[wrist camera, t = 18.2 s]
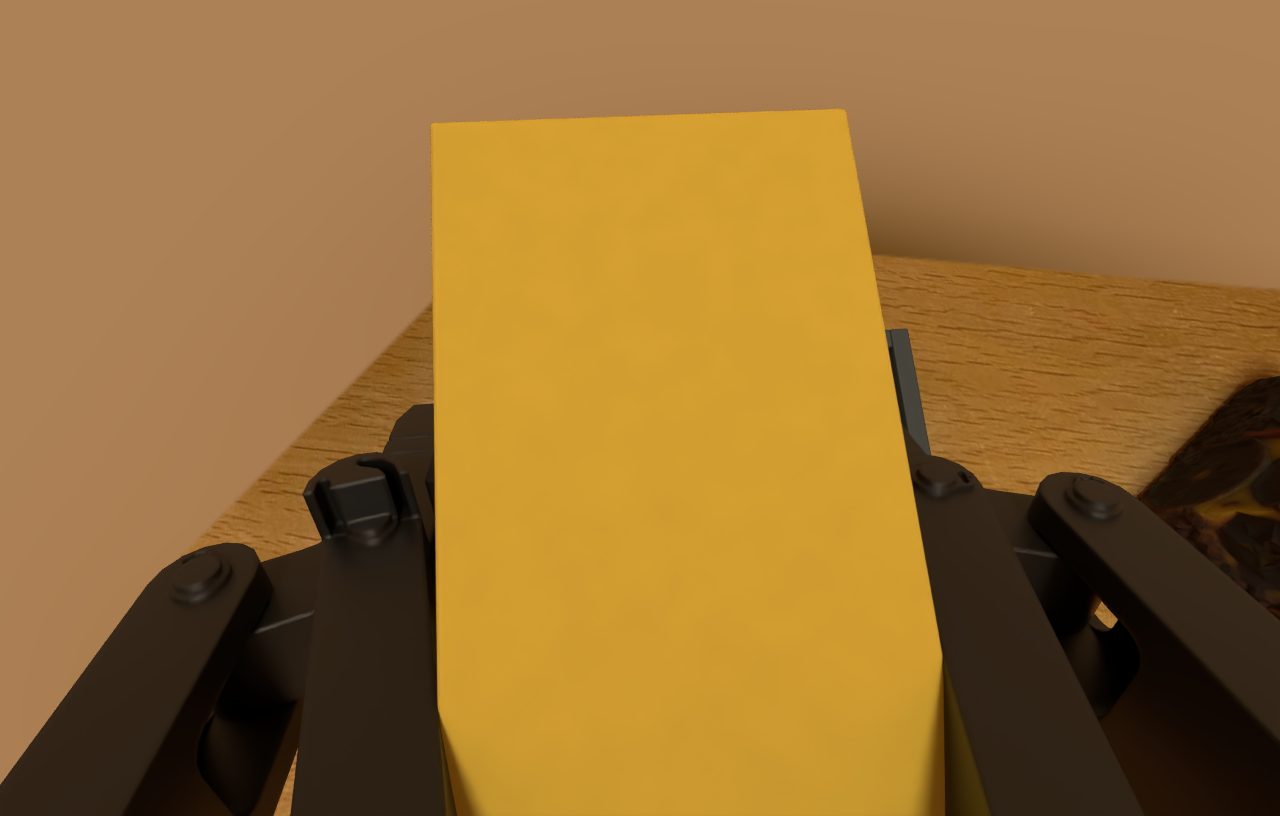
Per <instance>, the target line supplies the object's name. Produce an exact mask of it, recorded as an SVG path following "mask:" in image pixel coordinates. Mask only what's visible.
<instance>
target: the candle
mask: <svg viewBox="0 0 1280 816" xmlns="http://www.w3.org/2000/svg"><path fill="white" fill-rule="evenodd" d="M1139 501H1141V502H1142V503H1143V504H1144V505H1145V506H1146V507H1148V508H1149V509H1150V510H1151V511H1152V512H1153V513H1155V514H1156V515H1157V516H1158V517H1159V518H1160V519H1162V520H1163V521H1164V522H1165V523H1166V524H1168V525H1169V526H1170V527H1171V528H1172V529H1173V530H1175V531H1176V532H1177V533H1178V534H1179V535H1180V536H1182V537H1183V538H1184V539H1185V540H1186V541H1187V542H1189V543H1190V544H1191V545H1192V546H1193V547H1194V548H1196V549H1197V550H1198V551H1199V552H1200V553H1201V554H1203V555H1204V556H1205V557H1206V558H1207V559H1208V560H1210V561H1211V562H1212V563H1213V564H1214V565H1215V566H1217V567H1218V568H1219V569H1220V570H1221V571H1223V572H1224V573H1225V574H1226V575H1227V576H1228V577H1230V578H1231V579H1232V580H1233V581H1234V582H1235V583H1237V584H1238V585H1239V586H1240V587H1241V588H1242V589H1244V590H1245V591H1246V592H1247V593H1248V594H1249V595H1251V596H1252V597H1253V598H1254V599H1255V600H1256V601H1258V602H1259V603H1260V604H1261V605H1262V606H1263V607H1265V608H1266V609H1267V610H1268V611H1269V612H1270V613H1272V614H1273V615H1274V616H1275V617H1276V618H1278V619H1279V620H1280V376H1276V377H1271V378H1268V379H1259V380H1256V381H1255V382H1253V383H1251V384H1250V385H1248V386H1247V387H1245V388H1244V389H1243V390H1242V391H1240V392H1239V393H1238V394H1236V395H1235V397H1234V398H1233V400H1232V402H1231V403H1230V405H1227V406H1225V407H1222V408H1221V410H1220V411H1219V412H1218V413H1217V415H1216V416H1215V418H1214V421H1213V423H1210V424H1208V425H1207V426H1206V428H1205V429H1204V430H1203V431H1202V432H1200V433H1199V434H1198V436H1197V438H1196V440H1195V441H1193V442H1192V443H1190V444H1189V445H1188V446H1187V447H1186V449H1185V450H1184V452H1183V453H1182V454H1180V455H1178V456H1177V457H1176V459H1175V461H1174V463H1173V464H1172V466H1171V467H1170V468H1169V469H1168V470H1167V472H1166V473H1165V474H1164V475H1163V476H1162V477H1161V478H1160V479H1158V480H1157V481H1156V482H1155V483H1154V484H1153V485H1152V487H1151V488H1150V489H1149V490H1148V491H1147V492H1146V493H1145V495H1144V496H1143V497H1142V499H1141V500H1139Z"/></svg>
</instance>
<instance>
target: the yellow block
mask: <svg viewBox="0 0 1280 816" xmlns="http://www.w3.org/2000/svg"><path fill="white" fill-rule="evenodd" d="M430 131H431V214H432V215H431V216H432V285H433V286H432V300H433V383H434V467H435V551H436V634H437V708H438V715H439V721H440V727H441V732H442V738H443V743H444V748H445V754H446V759H447V764H448V770H449V775H450V780H451V786H452V791H453V796H454V802H455V807H456V812H457V816H945V765H944V682H943V655H942V650H941V644H940V638H939V633H938V627H937V622H936V616H935V610H934V605H933V599H932V593H931V588H930V582H929V576H928V571H927V565H926V560H925V554H924V548H923V543H922V537H921V531H920V526H919V520H918V514H917V509H916V503H915V497H914V492H913V486H912V481H911V475H910V469H909V464H908V458H907V452H906V447H905V441H904V435H903V430H902V424H901V418H900V413H899V407H898V402H897V396H896V390H895V385H894V379H893V373H892V368H891V362H890V356H889V351H888V345H887V340H886V334H885V328H884V323H883V317H882V311H881V306H880V300H879V294H878V289H877V283H876V277H875V272H874V266H873V261H872V255H871V250H870V244H869V238H868V233H867V227H866V222H865V215H864V210H863V204H862V199H861V193H860V187H859V182H858V176H857V170H856V165H855V159H854V154H853V148H852V142H851V137H850V131H849V126H848V120H847V114H846V111H845V110H844V109H821V110H794V111H768V112H767V111H766V112H765V111H764V112H736V113H709V114H708V113H706V114H679V115H651V116H623V117H594V118H563V119H537V120H535V119H534V120H506V121H479V122H449V123H433V124H432V125H431V129H430Z"/></svg>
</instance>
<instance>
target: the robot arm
mask: <svg viewBox="0 0 1280 816" xmlns="http://www.w3.org/2000/svg"><path fill="white" fill-rule="evenodd" d="M902 430H903V435H904V441H905V447H906V452H907V458H908V464H909V469H910V475H911V481H912V486H913V492H914V497H915V503H916V509H917V514H918V520H919V526H920V531H921V537H922V543H923V548H924V554H925V560H926V565H927V571H928V576H929V582H930V588H931V593H932V599H933V605H934V610H935V616H936V622H937V627H938V633H939V638H940V644H941V650H942V655H943V682H944V765H945V816H1280V620H1279V619H1278V618H1276V617H1275V616H1274V615H1273V614H1272V613H1270V612H1269V611H1268V610H1267V609H1266V608H1265V607H1263V606H1262V605H1261V604H1260V603H1259V602H1258V601H1256V600H1255V599H1254V598H1253V597H1252V596H1251V595H1249V594H1248V593H1247V592H1246V591H1245V590H1244V589H1242V588H1241V587H1240V586H1239V585H1238V584H1237V583H1235V582H1234V581H1233V580H1232V579H1231V578H1230V577H1228V576H1227V575H1226V574H1225V573H1224V572H1223V571H1221V570H1220V569H1219V568H1218V567H1217V566H1215V565H1214V564H1213V563H1212V562H1211V561H1210V560H1208V559H1207V558H1206V557H1205V556H1204V555H1203V554H1201V553H1200V552H1199V551H1198V550H1197V549H1196V548H1194V547H1193V546H1192V545H1191V544H1190V543H1189V542H1187V541H1186V540H1185V539H1184V538H1183V537H1182V536H1180V535H1179V534H1178V533H1177V532H1176V531H1175V530H1173V529H1172V528H1171V527H1170V526H1169V525H1168V524H1166V523H1165V522H1164V521H1163V520H1162V519H1160V518H1159V517H1158V516H1157V515H1156V514H1155V513H1153V512H1152V511H1151V510H1150V509H1149V508H1148V507H1146V506H1145V505H1144V504H1143V503H1142V502H1141V501H1139V500H1138V499H1137V498H1136V497H1134V496H1133V495H1131V494H1130V493H1128V492H1127V491H1125V490H1124V489H1122V488H1121V487H1119V486H1117V485H1115V484H1113V483H1110V482H1108V481H1106V480H1104V479H1102V478H1099V477H1095V476H1090V475H1087V474H1082V473H1071V472H1060V473H1055V474H1051V475H1048V476H1047V477H1046V478H1045V479H1044V480H1043V481H1041V483H1040V485H1039V487H1038V489H1037V492H1036V494H1035V496H1032V495H1025V494H1017V493H1010V492H1003V491H995V490H990V489H985V488H983V486H982V484H981V483H980V482H979V481H978V479H977V478H976V477H975V476H974V474H973V473H971V472H970V471H968V470H967V469H965V468H964V467H962V466H961V465H959V464H957V463H955V462H952V461H950V460H947V459H945V458H942V457H937V456H931V455H927V454H926V453H925V452H924V451H923V449H922V448H921V447H920V446H919V444H918V443H917V442H916V441H915V440H914V438H913V437H912V436H911V435H910V434H909V432H908V431H907V430H906V429H905V427H904V426H903V425H902ZM303 496H304V499H305V501H306V503H307V506H308V508H309V510H310V513H311V515H312V517H313V520H314V522H315V524H316V527H317V529H318V531H319V534H320V536H321V538H322V542H320V543H318V544H316V545H314V546H311V547H308V548H306V549H303V550H300V551H297V552H293V553H290V554H287V555H283V556H280V557H277V558H274V559H270V560H267V561H264V562H261V561H260V559H259V557H258V556H257V554H256V552H255V550H254V549H252V548H250V547H248V546H246V545H244V544H239V543H222V544H217V545H212V546H208V547H204V548H201V549H199V550H196V551H194V552H192V553H189V554H187V555H185V556H182V557H181V558H179V559H178V560H176V561H175V562H173V563H172V564H170V565H169V566H167V567H166V568H164V569H162V570H161V572H159V574H158V575H157V576H156V577H155V578H154V579H153V580H152V581H151V582H150V583H149V584H148V585H147V586H146V587H145V589H144V590H143V592H142V593H141V594H140V596H139V597H138V598H137V600H136V601H135V602H134V604H133V605H132V607H131V608H130V609H129V611H128V612H127V613H126V615H125V616H124V617H123V619H122V620H121V622H120V623H119V624H118V625H117V627H116V628H115V630H114V631H113V632H112V634H111V635H110V636H109V638H108V639H107V641H106V642H105V643H104V645H103V646H102V647H101V649H100V650H99V651H98V653H97V654H96V655H95V657H94V658H93V659H92V661H91V662H90V664H89V665H88V666H87V668H86V669H85V671H84V672H83V673H82V675H81V676H80V677H79V679H78V680H77V681H76V683H75V684H74V685H73V687H72V688H71V690H70V691H69V692H68V693H67V695H66V696H65V698H64V699H63V700H62V702H61V703H60V704H59V706H58V707H57V708H56V710H55V711H54V712H53V714H52V715H51V717H50V718H49V719H48V721H47V722H46V724H45V725H44V726H43V728H42V729H41V730H40V732H39V733H38V734H37V736H36V737H35V738H34V740H33V741H32V742H31V744H30V745H29V747H28V748H27V749H26V751H25V752H24V753H23V755H22V756H21V757H20V759H19V760H18V761H17V763H16V764H15V766H14V767H13V768H12V770H11V771H10V772H9V774H8V775H7V776H6V778H5V779H4V781H3V782H2V783H1V785H0V816H273V815H274V812H275V810H276V807H277V804H278V801H279V799H280V796H281V793H282V790H283V788H284V785H285V782H286V779H287V776H288V774H289V771H290V768H291V765H292V763H293V760H294V757H295V754H296V752H297V749H298V754H297V762H296V771H295V780H294V789H293V797H292V806H291V815H290V816H457V812H456V807H455V802H454V796H453V791H452V786H451V780H450V775H449V770H448V764H447V759H446V754H445V748H444V743H443V738H442V732H441V727H440V721H439V715H438V708H437V634H436V551H435V467H434V404H421V405H413V406H412V407H411V408H410V409H409V410H408V411H407V412H406V413H405V414H403V415H402V416H401V417H400V418H399V419H398V420H397V421H396V423H395V425H394V428H393V430H392V432H391V435H390V437H389V441H388V442H387V444H386V446H385V448H384V451H383V453H378V452H375V453H365V454H357V455H354V456H351V457H348V458H344V459H341V460H338V461H336V462H335V463H333V464H331V465H329V466H327V467H325V468H324V469H322V470H320V471H319V472H318V473H317V474H316V475H315V476H314V477H313V478H312V479H311V480H310V481H309V482H308V484H307V486H306V488H305V490H304V492H303ZM1101 601H1102V602H1103V603H1104V604H1105V606H1106V607H1107V608H1108V609H1109V610H1110V611H1111V612H1112V613H1113V614H1114V615H1115V617H1116V618H1117V619H1118V620H1117V622H1116V624H1115V625H1114V627H1113V628H1108V627H1107V626H1106V625H1105V624H1103V623H1102V622H1101V621H1100V620H1099V619H1098V617H1097V616H1096V615H1095V614H1094V613H1095V611H1096V609H1097V608H1098V606H1099V604H1100V603H1101Z"/></svg>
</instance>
